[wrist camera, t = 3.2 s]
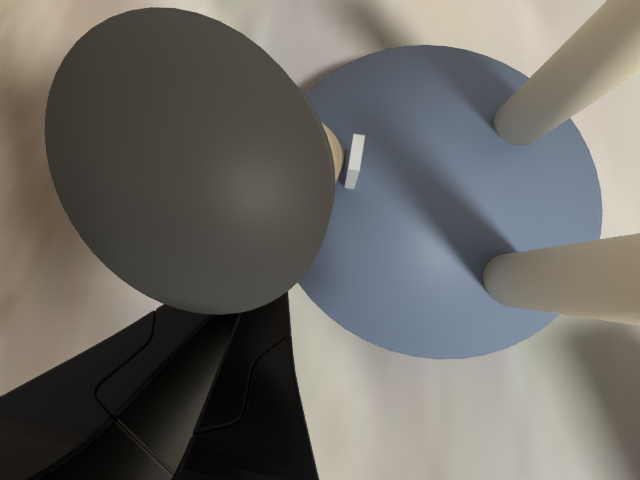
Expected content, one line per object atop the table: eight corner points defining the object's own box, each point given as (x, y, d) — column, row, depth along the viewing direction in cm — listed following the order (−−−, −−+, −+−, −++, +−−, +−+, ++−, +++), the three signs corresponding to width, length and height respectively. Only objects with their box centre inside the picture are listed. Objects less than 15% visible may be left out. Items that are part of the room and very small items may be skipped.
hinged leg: (341, 187, 15) (311, 334, 3) (289, 179, 15) (80, 290, 3) (350, 130, 14) (357, 28, 2) (294, 123, 14) (4, -13, 2)
